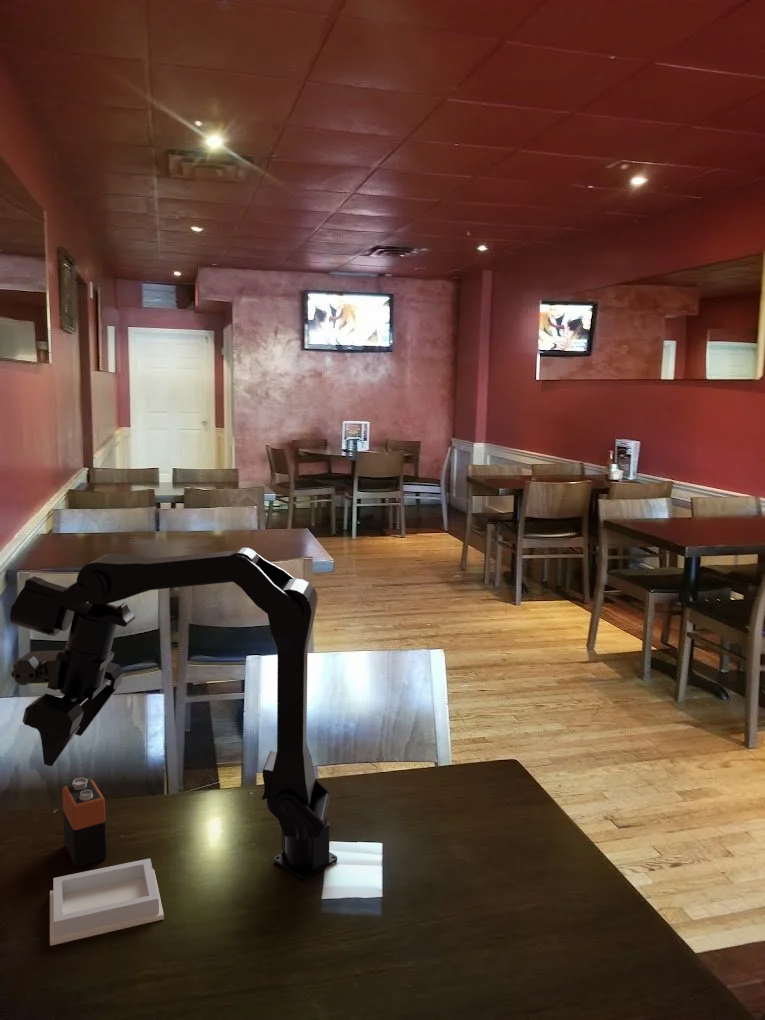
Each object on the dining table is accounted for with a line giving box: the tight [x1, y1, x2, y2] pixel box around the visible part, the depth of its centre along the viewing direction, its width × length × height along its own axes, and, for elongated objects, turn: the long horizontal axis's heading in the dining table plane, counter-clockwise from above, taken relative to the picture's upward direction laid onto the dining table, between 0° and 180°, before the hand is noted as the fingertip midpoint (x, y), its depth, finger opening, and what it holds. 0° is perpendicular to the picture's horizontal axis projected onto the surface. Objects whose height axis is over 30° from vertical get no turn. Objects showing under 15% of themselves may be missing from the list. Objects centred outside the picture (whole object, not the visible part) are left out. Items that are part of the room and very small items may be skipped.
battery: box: [61, 777, 108, 868], centre depth 111 cm, size 4×7×10 cm, turn 34°
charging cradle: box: [49, 858, 165, 947], centre depth 100 cm, size 13×10×3 cm
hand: (63, 749), depth 109 cm, fingers open, 9 cm apart
